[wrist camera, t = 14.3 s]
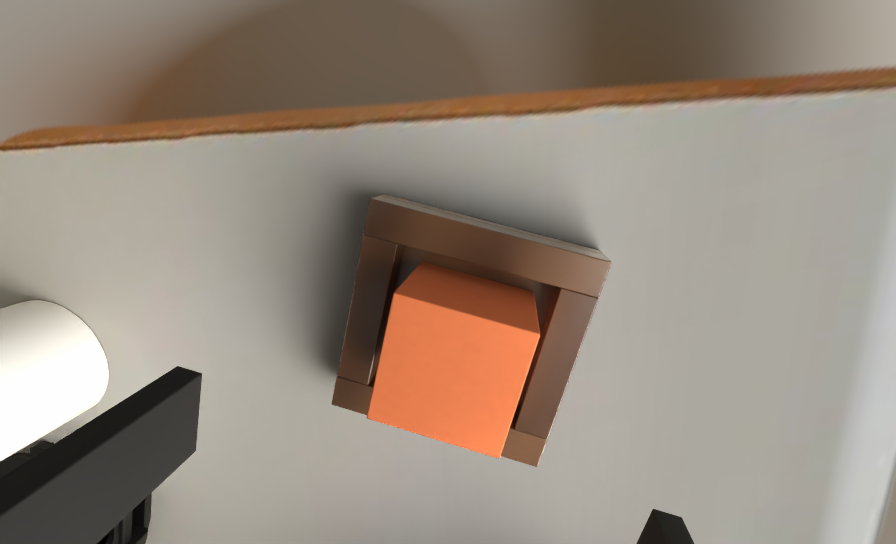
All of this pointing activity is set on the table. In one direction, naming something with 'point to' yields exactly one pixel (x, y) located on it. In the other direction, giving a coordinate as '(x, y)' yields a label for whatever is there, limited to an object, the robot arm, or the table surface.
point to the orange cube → (455, 358)
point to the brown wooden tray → (486, 256)
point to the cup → (45, 371)
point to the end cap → (128, 533)
